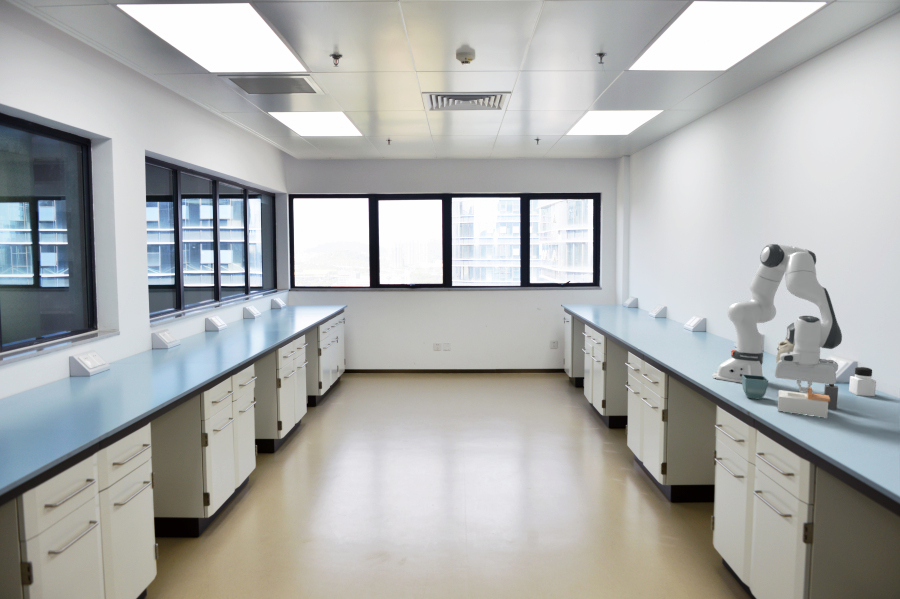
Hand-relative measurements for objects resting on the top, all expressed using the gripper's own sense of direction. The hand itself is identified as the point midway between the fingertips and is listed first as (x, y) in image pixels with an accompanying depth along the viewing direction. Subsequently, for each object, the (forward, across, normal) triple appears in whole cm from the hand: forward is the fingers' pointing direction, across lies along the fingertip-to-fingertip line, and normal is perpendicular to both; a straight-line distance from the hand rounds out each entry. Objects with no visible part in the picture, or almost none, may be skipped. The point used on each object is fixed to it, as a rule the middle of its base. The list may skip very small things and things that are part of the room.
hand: (803, 392), depth 213 cm
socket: (+8, 0, 0) cm, 8 cm away
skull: (+8, +4, -77) cm, 78 cm away
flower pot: (+8, +17, -12) cm, 23 cm away
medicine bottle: (+8, -24, -47) cm, 53 cm away
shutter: (+2, -5, 0) cm, 5 cm away
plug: (+8, -10, -12) cm, 17 cm away
